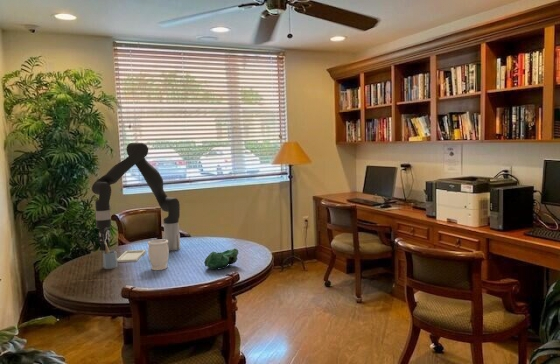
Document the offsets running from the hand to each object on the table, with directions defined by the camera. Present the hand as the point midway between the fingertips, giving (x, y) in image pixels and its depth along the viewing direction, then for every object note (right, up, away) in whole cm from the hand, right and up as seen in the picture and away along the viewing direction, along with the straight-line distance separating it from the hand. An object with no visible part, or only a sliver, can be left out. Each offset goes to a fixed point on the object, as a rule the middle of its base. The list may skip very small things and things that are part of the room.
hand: (105, 249), depth 233 cm
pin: (+2, -10, +1) cm, 10 cm away
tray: (+7, -9, +22) cm, 24 cm away
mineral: (+64, -10, -2) cm, 65 cm away
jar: (+30, -11, -1) cm, 31 cm away
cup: (+2, -11, +1) cm, 11 cm away
